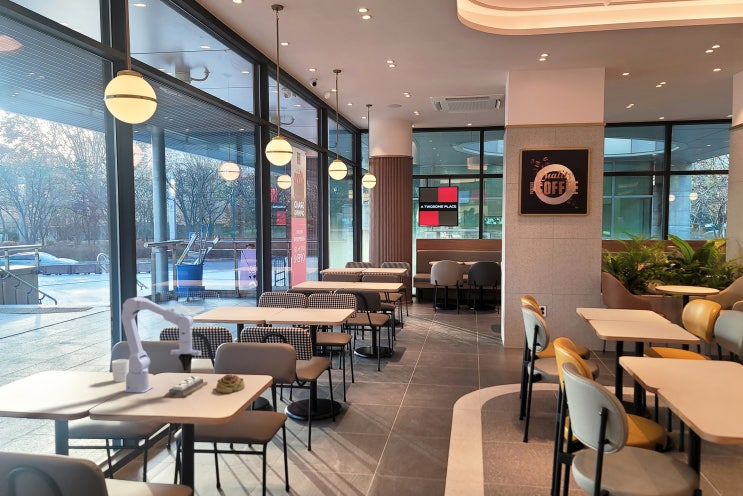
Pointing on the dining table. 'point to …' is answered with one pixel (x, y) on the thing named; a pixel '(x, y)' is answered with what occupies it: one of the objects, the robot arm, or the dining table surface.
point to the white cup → (120, 369)
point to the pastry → (230, 384)
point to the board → (186, 390)
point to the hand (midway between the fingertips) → (186, 370)
